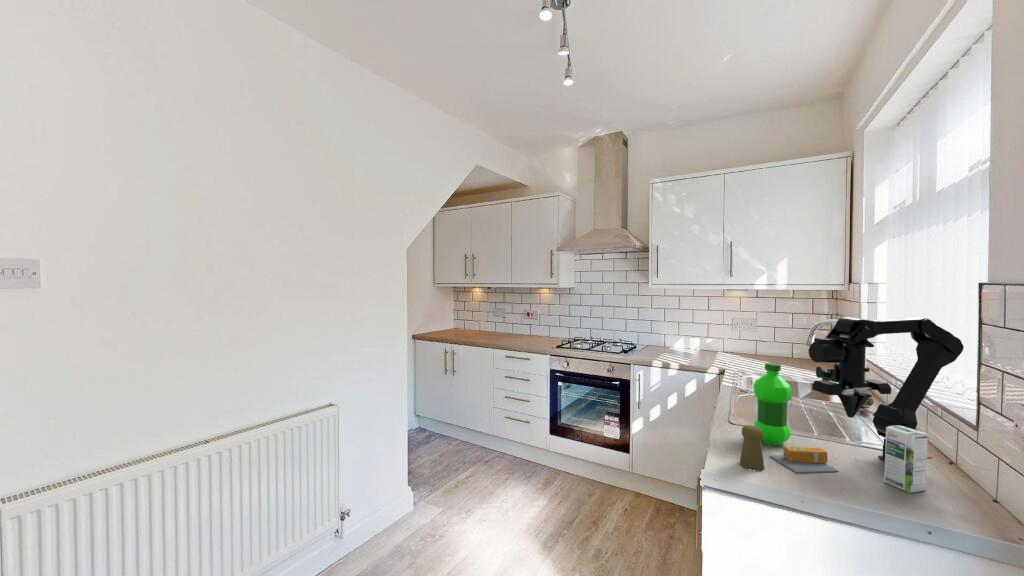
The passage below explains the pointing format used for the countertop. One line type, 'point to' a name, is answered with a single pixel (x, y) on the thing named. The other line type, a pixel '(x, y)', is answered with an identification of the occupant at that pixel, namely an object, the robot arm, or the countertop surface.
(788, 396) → the plastic bottle
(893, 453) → the syrup box
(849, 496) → the countertop surface
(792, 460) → the supplement box
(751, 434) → the cork
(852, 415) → the robot arm
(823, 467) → the rubber mat
